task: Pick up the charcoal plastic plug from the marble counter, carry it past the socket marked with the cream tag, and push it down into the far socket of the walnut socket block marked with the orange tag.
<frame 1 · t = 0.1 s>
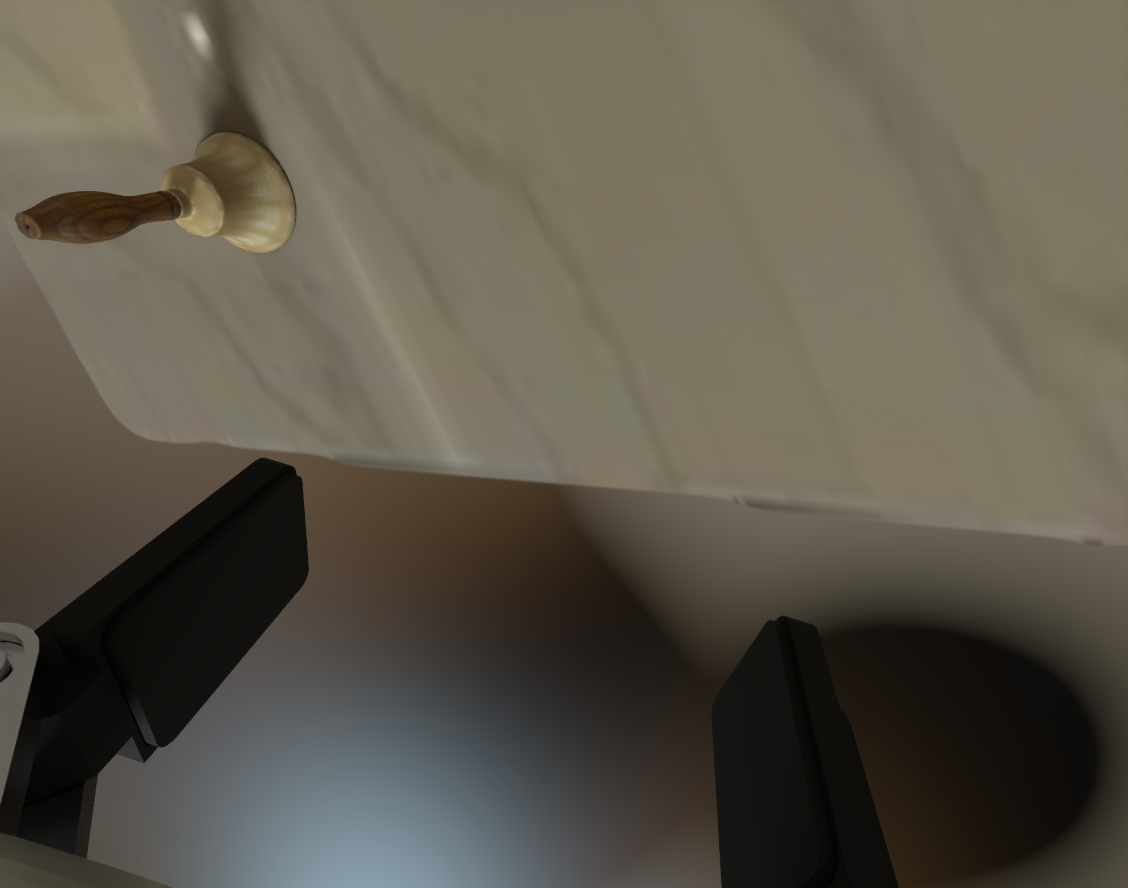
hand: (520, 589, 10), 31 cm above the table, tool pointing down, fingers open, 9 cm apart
hand bell: (247, 194, 39), on the table
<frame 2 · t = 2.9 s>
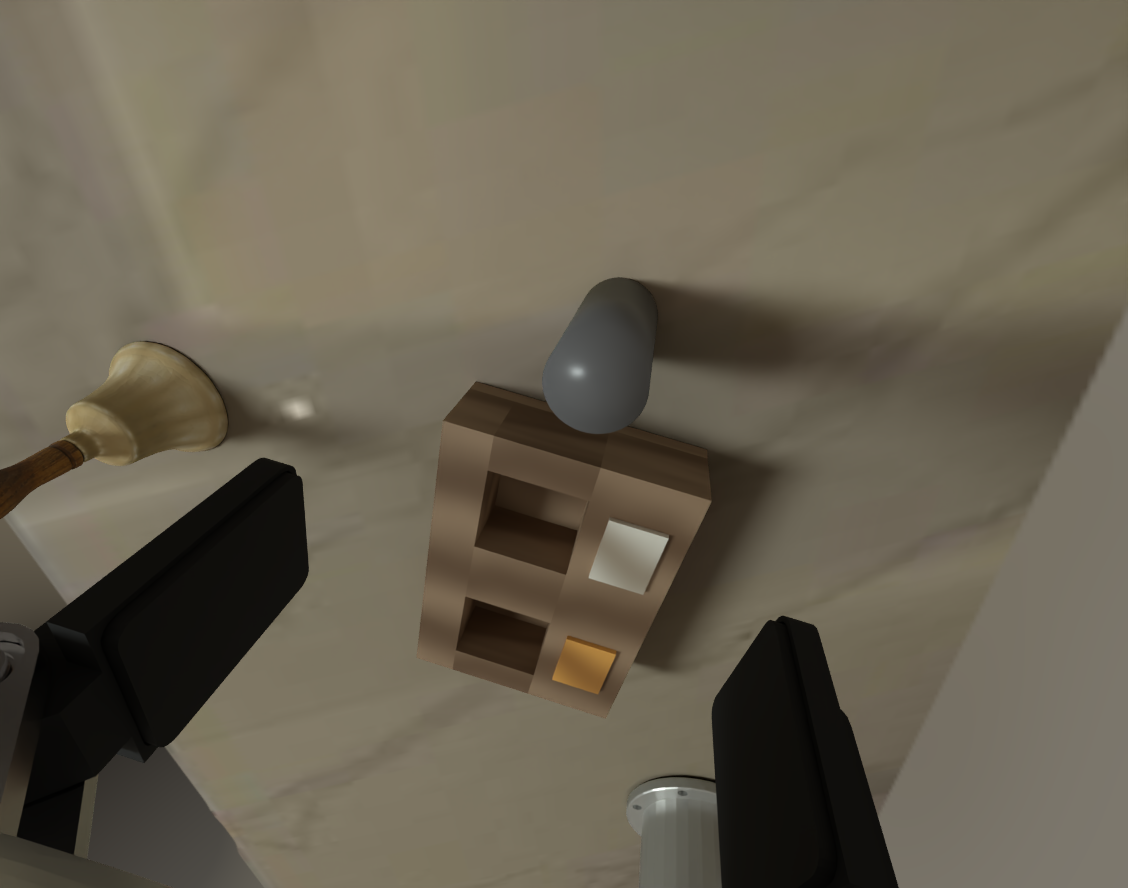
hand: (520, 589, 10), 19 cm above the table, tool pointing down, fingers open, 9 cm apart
plug: (618, 317, 27), on the table
hand bell: (175, 397, 36), on the table
socket block: (554, 539, 35), on the table
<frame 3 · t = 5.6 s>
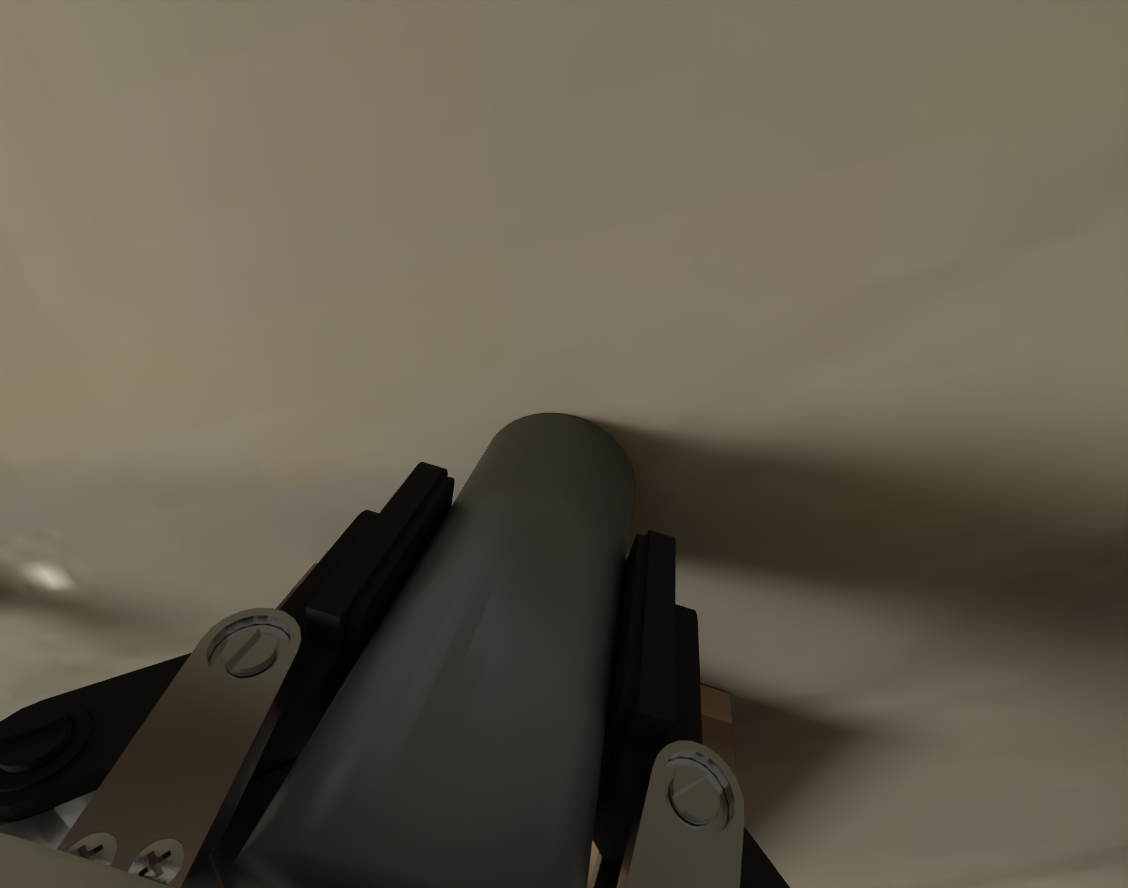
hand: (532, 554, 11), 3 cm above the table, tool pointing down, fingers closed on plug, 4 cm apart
plug: (557, 481, 13), on the table, touching gripper
socket block: (478, 773, 22), on the table
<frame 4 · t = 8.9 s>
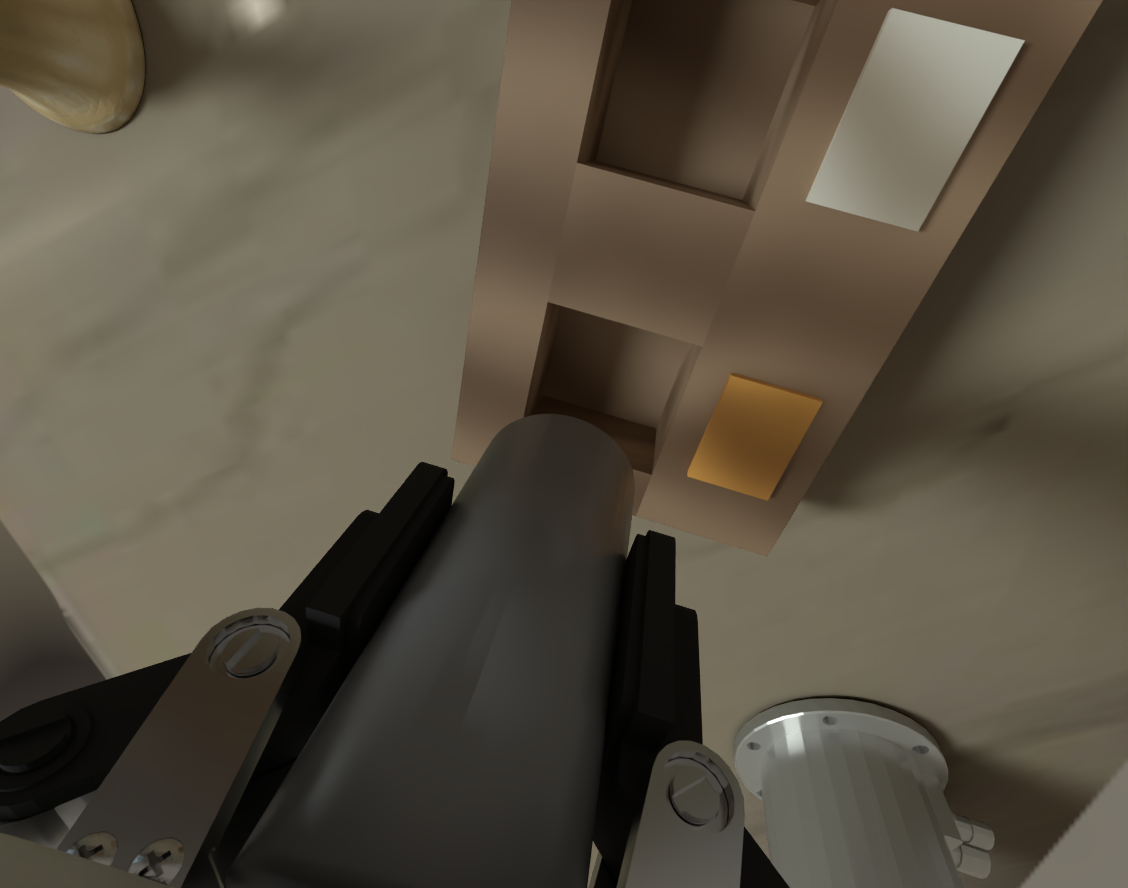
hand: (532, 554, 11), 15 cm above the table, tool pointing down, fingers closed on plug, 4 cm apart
plug: (557, 482, 13), point 12 cm above the table, touching gripper
hand bell: (59, 18, 22), on the table
socket block: (687, 247, 21), on the table
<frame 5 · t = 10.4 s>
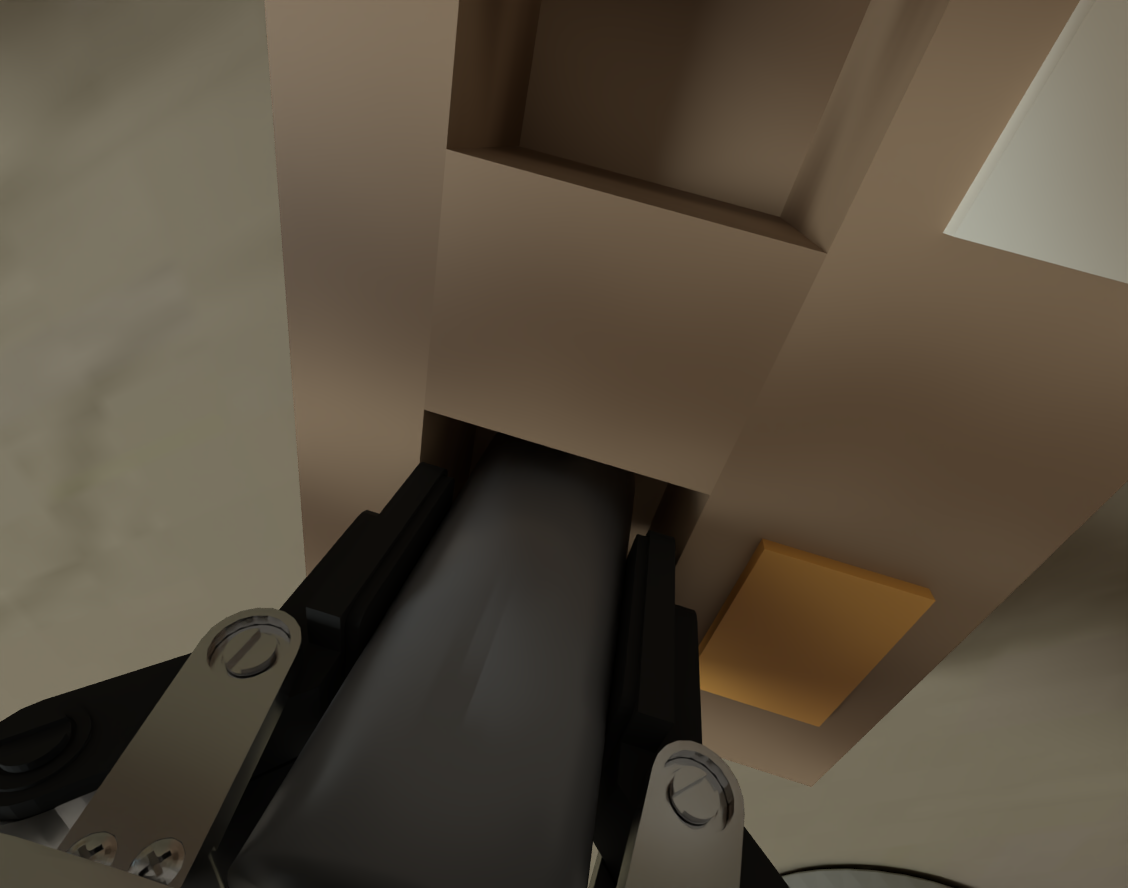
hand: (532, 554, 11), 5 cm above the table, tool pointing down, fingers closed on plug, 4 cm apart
plug: (557, 481, 13), point 2 cm above the table, touching gripper
socket block: (681, 292, 13), on the table
when the fingers open (5 cm above the table, at t = 12.3 s): plug drops 1 cm, resting on socket block.
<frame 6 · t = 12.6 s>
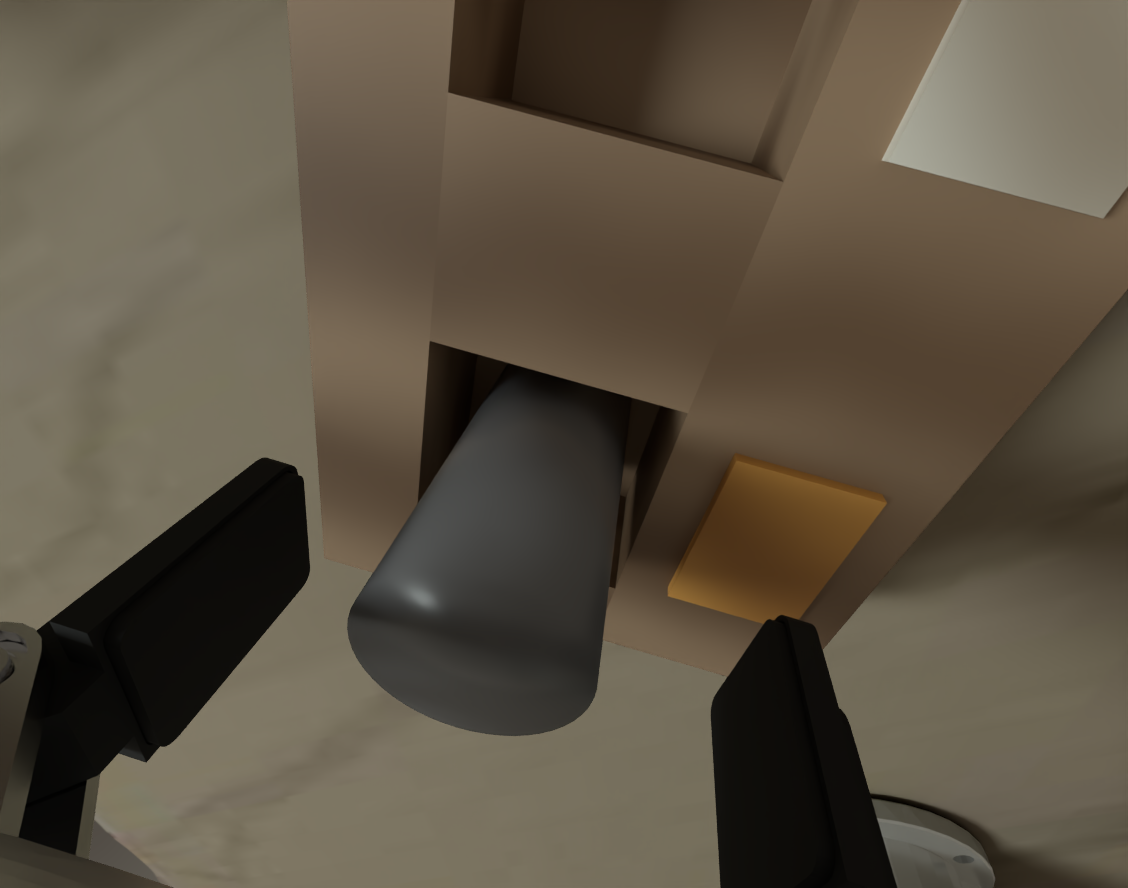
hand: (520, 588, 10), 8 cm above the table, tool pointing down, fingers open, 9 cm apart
plug: (564, 399, 15), point 1 cm above the table, touching socket block
socket block: (663, 240, 14), on the table
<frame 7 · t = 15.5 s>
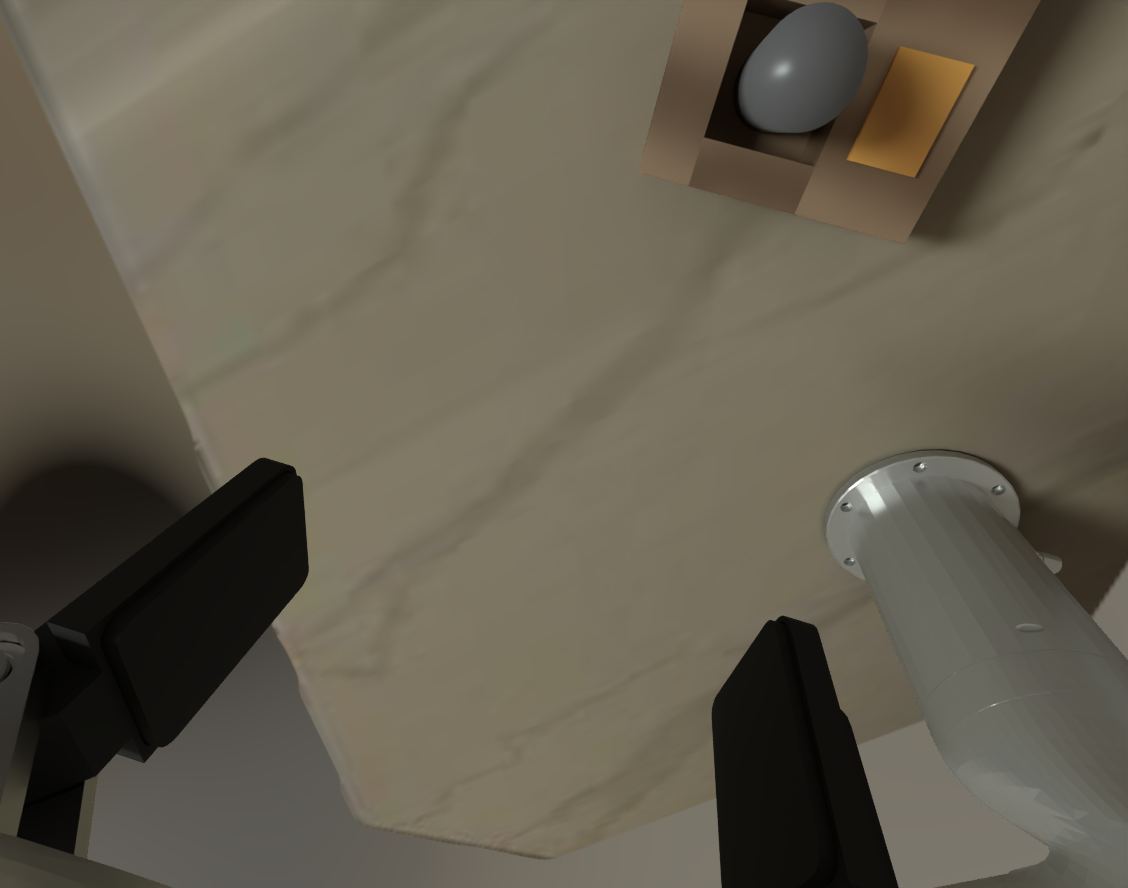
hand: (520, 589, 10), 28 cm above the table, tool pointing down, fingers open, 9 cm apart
plug: (772, 87, 27), point 1 cm above the table, touching socket block
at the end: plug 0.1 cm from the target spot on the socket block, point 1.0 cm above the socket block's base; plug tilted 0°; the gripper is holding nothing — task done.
